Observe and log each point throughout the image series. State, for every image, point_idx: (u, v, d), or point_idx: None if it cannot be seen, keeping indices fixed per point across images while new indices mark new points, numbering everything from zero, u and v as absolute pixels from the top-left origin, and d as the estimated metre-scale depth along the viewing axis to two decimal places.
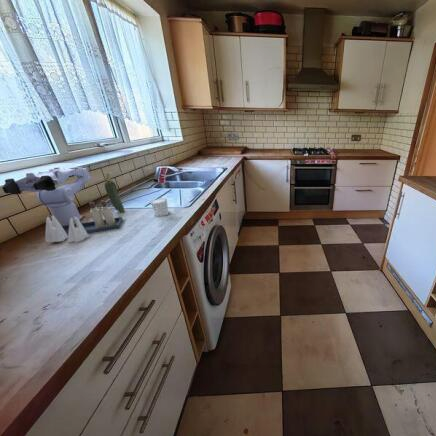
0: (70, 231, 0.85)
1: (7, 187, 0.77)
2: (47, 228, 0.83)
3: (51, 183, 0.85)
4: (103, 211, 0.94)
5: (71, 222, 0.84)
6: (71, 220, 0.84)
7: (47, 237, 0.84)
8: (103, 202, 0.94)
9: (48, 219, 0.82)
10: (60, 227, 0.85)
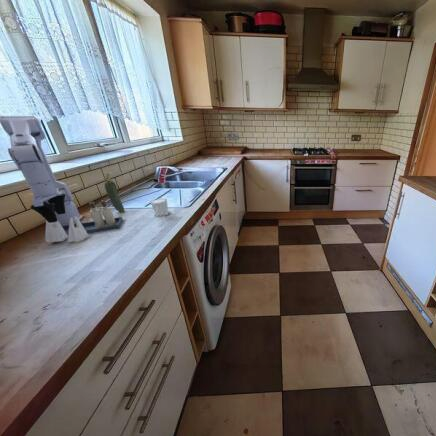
0: (70, 231, 0.85)
1: None
2: (47, 228, 0.83)
3: None
4: (103, 211, 0.94)
5: (71, 222, 0.84)
6: (71, 220, 0.84)
7: (47, 237, 0.84)
8: (103, 202, 0.94)
9: None
10: (60, 227, 0.85)
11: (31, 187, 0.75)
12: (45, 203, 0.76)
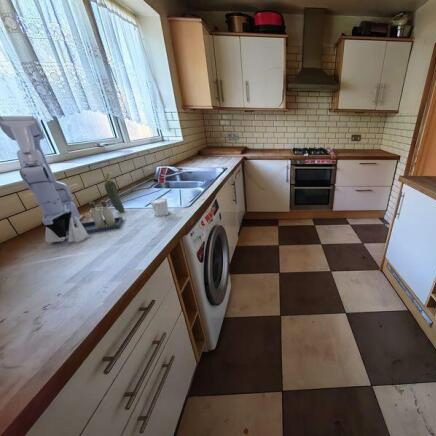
0: (70, 231, 0.85)
1: None
2: (47, 228, 0.83)
3: None
4: (103, 211, 0.94)
5: (71, 222, 0.84)
6: (71, 220, 0.84)
7: (47, 237, 0.84)
8: (103, 202, 0.94)
9: None
10: None
11: (41, 206, 0.78)
12: (56, 219, 0.80)
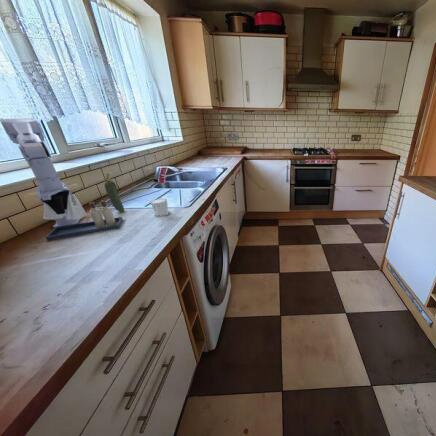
0: (68, 208, 0.87)
1: None
2: (45, 205, 0.85)
3: None
4: (103, 211, 0.94)
5: (69, 199, 0.86)
6: (69, 197, 0.86)
7: (45, 214, 0.85)
8: (103, 202, 0.94)
9: None
10: None
11: (39, 182, 0.80)
12: (54, 196, 0.82)
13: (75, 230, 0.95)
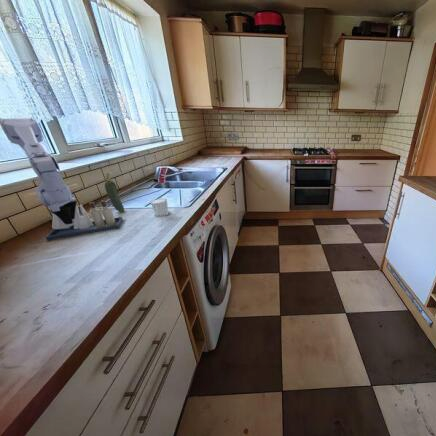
0: (76, 218, 0.91)
1: None
2: (54, 215, 0.88)
3: None
4: (103, 211, 0.94)
5: (77, 210, 0.90)
6: (77, 208, 0.90)
7: (54, 224, 0.89)
8: (103, 202, 0.94)
9: None
10: None
11: (49, 194, 0.84)
12: (62, 207, 0.86)
13: (75, 230, 0.95)
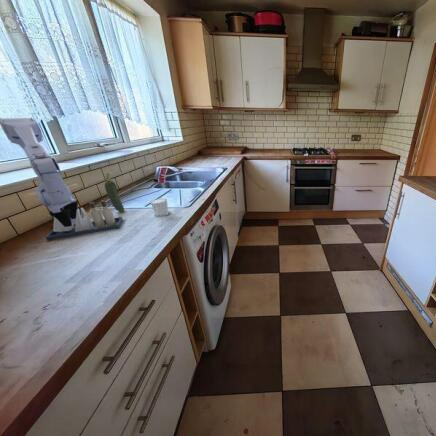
0: (77, 221, 0.92)
1: None
2: (55, 218, 0.89)
3: None
4: (103, 211, 0.94)
5: (78, 213, 0.91)
6: (78, 211, 0.91)
7: (55, 227, 0.90)
8: (103, 202, 0.94)
9: None
10: None
11: (49, 195, 0.84)
12: (62, 209, 0.85)
13: None
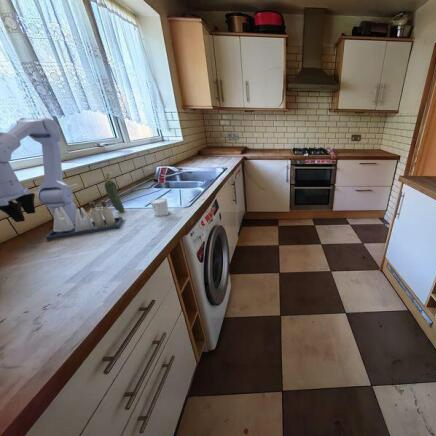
0: (77, 221, 0.92)
1: None
2: (55, 218, 0.89)
3: None
4: (103, 211, 0.94)
5: (78, 213, 0.91)
6: (78, 211, 0.91)
7: (55, 227, 0.90)
8: (103, 202, 0.94)
9: (56, 210, 0.88)
10: (68, 217, 0.92)
11: None
12: (11, 202, 0.76)
13: None
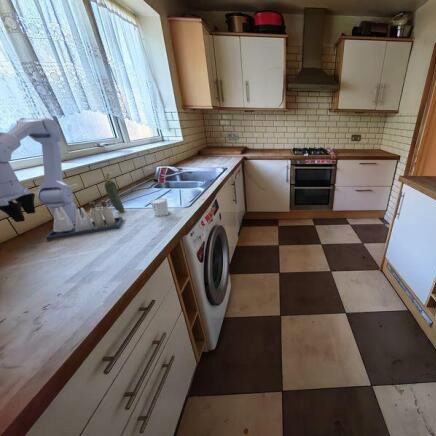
0: (77, 221, 0.92)
1: None
2: (55, 218, 0.89)
3: None
4: (103, 211, 0.94)
5: (78, 212, 0.91)
6: (78, 211, 0.91)
7: (55, 227, 0.90)
8: (103, 202, 0.94)
9: (56, 210, 0.88)
10: (68, 217, 0.92)
11: None
12: (11, 202, 0.76)
13: None
